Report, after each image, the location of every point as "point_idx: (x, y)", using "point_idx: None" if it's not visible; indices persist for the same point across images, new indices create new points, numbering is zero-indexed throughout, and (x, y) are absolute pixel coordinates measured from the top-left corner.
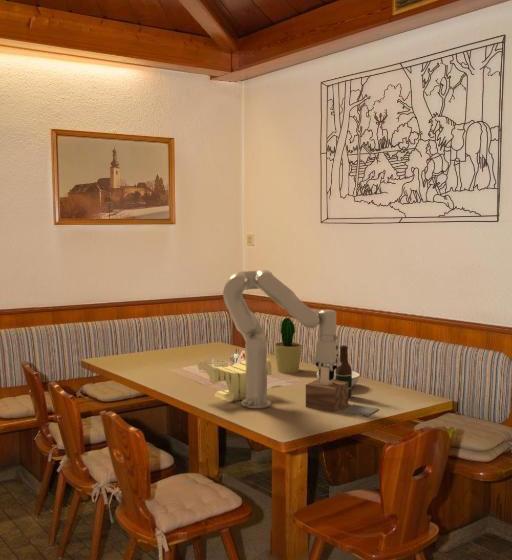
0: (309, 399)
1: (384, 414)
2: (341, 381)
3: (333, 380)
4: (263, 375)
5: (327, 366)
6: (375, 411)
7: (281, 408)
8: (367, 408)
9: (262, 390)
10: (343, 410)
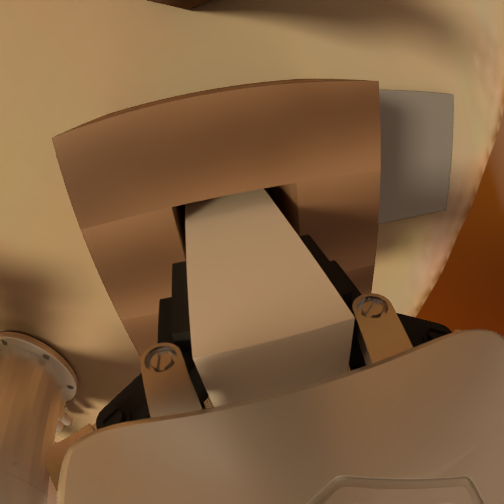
0: None
1: (476, 145)
2: (317, 97)
3: (224, 113)
4: (44, 479)
5: (284, 374)
6: (450, 131)
7: (110, 350)
8: (422, 120)
9: (54, 428)
10: None
